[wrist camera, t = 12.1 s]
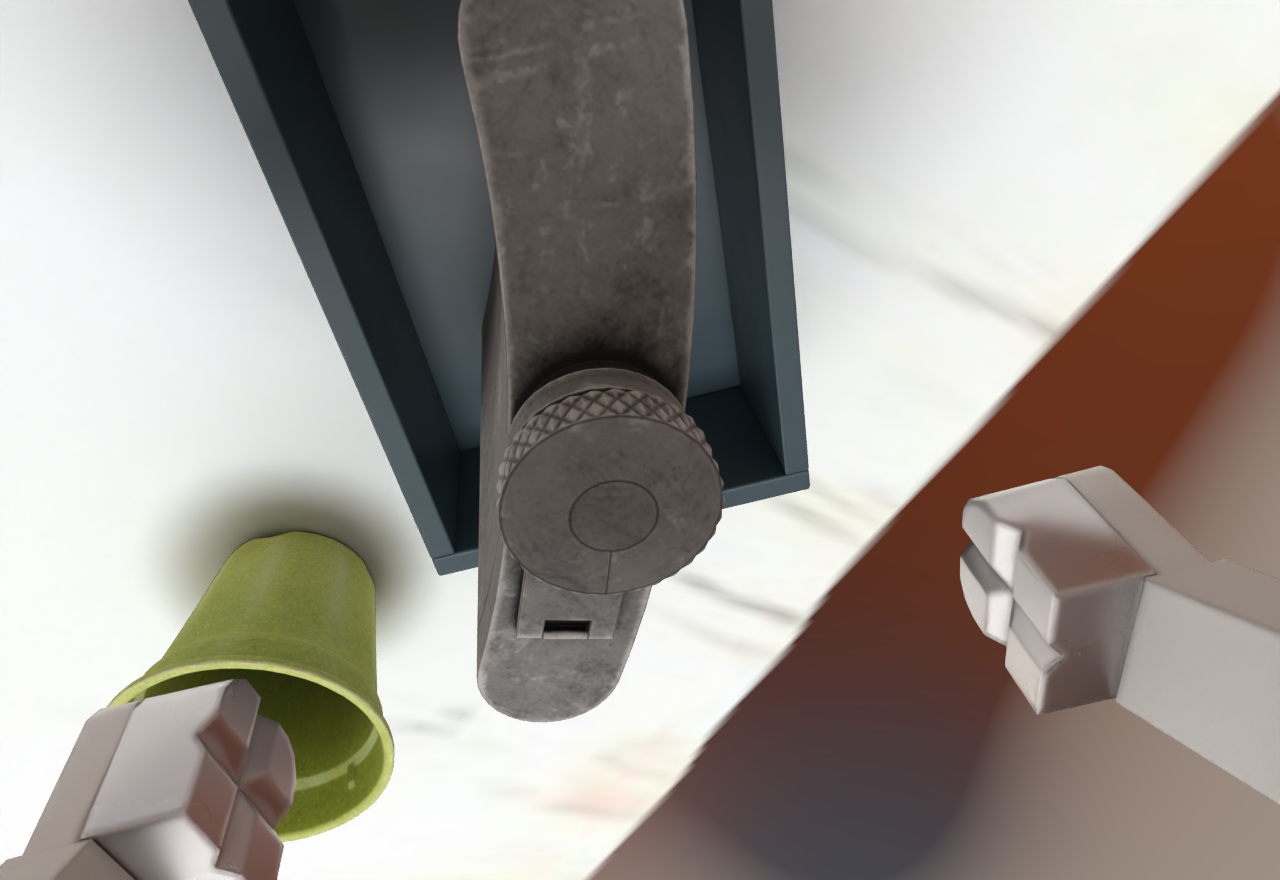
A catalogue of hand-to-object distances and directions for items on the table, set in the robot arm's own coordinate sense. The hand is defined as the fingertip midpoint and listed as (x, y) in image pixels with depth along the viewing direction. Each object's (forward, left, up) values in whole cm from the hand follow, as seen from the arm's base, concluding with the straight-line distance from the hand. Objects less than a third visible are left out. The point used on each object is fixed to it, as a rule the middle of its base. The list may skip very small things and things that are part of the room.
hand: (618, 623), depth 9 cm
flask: (0, 0, -21) cm, 21 cm away
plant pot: (+15, -14, -21) cm, 30 cm away
